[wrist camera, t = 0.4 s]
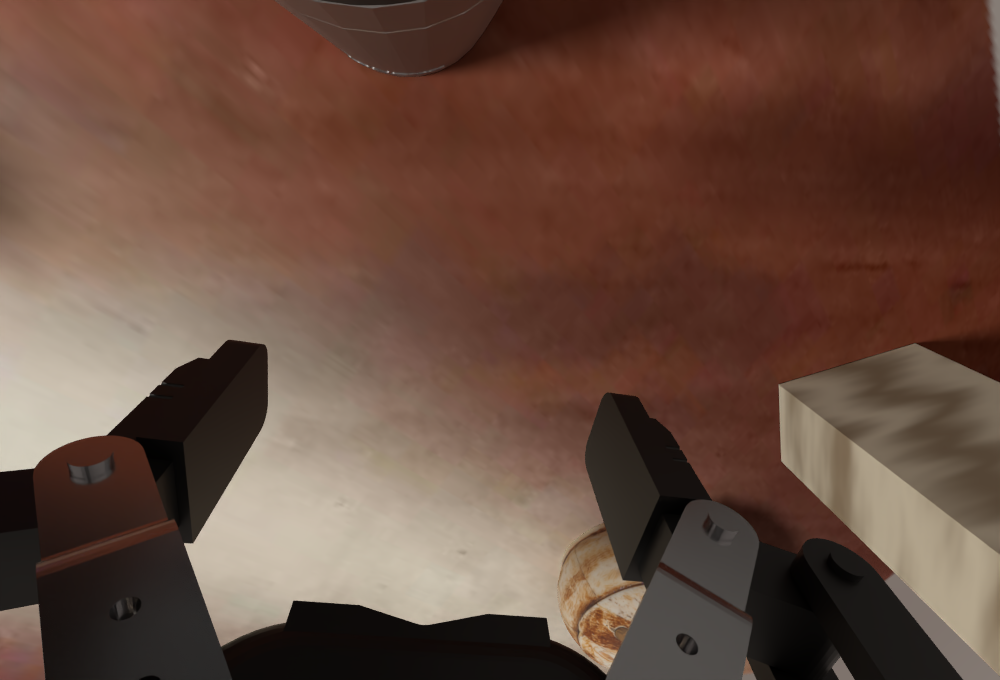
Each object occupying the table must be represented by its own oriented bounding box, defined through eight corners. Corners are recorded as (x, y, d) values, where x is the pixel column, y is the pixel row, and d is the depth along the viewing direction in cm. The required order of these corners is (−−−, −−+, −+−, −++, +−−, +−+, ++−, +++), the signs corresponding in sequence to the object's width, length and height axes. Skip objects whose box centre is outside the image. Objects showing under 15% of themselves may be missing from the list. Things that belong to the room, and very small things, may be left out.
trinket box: (739, 588, 44) (799, 680, 37) (575, 641, 44) (603, 743, 37) (723, 473, 38) (790, 555, 31) (535, 535, 38) (559, 631, 31)
